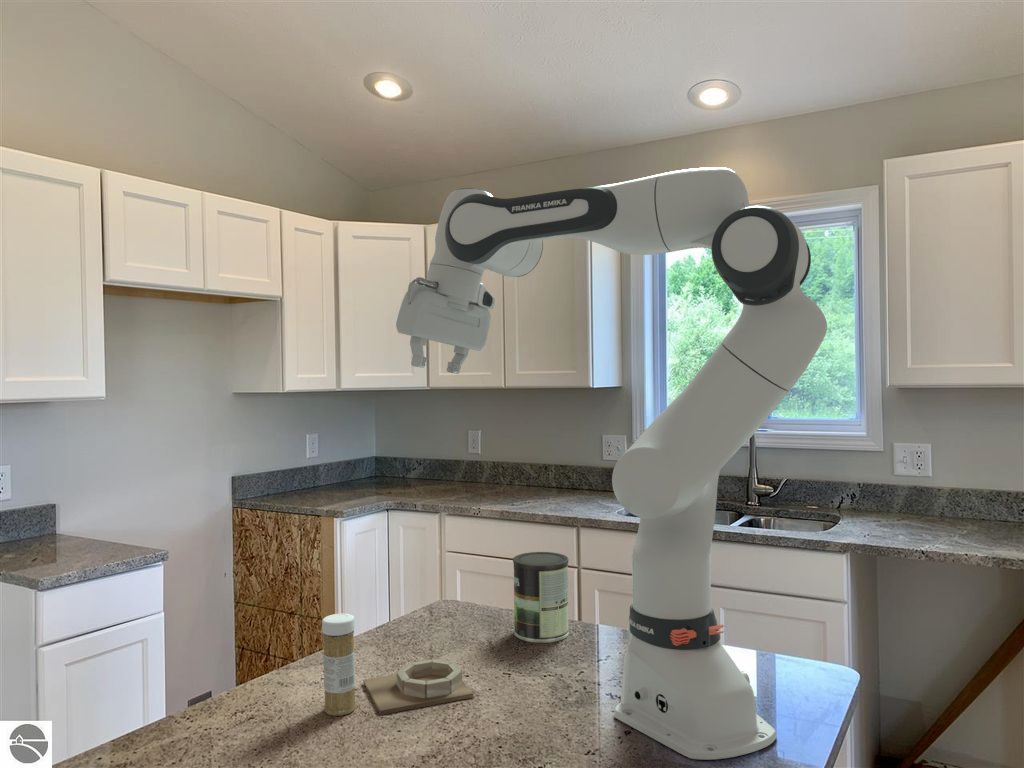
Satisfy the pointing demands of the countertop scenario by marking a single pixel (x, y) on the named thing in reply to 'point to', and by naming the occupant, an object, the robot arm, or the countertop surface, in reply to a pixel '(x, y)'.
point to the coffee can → (541, 597)
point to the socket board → (407, 702)
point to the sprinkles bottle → (339, 664)
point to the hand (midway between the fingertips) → (435, 370)
